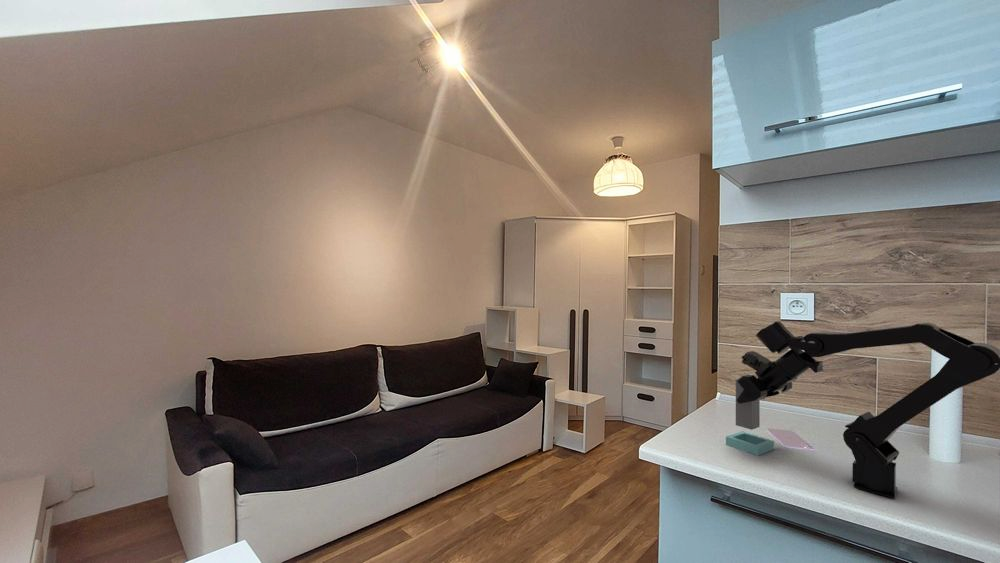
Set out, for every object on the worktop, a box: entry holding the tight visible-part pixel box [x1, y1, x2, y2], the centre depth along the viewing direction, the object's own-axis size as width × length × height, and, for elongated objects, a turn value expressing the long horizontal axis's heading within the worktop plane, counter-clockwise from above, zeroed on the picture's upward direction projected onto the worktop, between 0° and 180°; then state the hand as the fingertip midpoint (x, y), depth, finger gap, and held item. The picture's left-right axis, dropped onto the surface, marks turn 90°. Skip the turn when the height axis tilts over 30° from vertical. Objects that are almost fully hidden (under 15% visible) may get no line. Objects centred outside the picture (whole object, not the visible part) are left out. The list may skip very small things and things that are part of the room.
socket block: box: [725, 430, 775, 456], centre depth 112 cm, size 8×8×2 cm
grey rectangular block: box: [735, 378, 761, 430], centre depth 112 cm, size 4×4×12 cm
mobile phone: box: [765, 428, 817, 452], centre depth 118 cm, size 8×1×15 cm
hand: (742, 400), depth 113 cm, fingers closed on grey rectangular block, 4 cm apart
